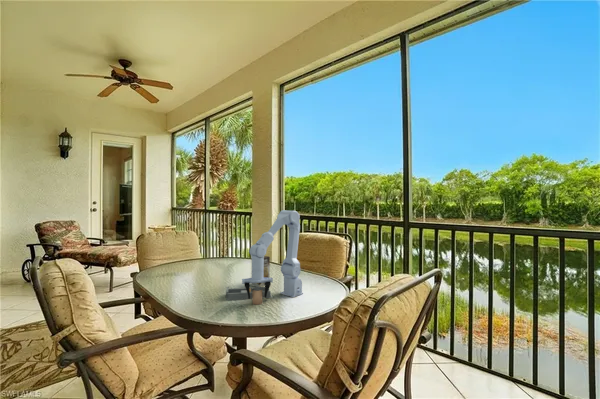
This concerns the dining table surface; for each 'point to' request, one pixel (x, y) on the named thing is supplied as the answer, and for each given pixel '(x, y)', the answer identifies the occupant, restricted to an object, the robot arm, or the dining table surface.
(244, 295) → the tray
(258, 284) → the coffee box
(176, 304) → the dining table surface
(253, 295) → the jar
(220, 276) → the dining table surface
